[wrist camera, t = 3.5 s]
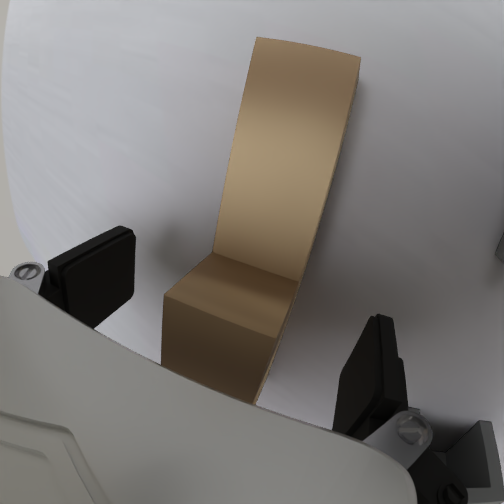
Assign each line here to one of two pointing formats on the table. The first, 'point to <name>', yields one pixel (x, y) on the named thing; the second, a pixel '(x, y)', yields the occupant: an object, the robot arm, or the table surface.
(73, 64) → the table surface
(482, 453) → the channel bracket
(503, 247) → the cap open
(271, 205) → the slat
